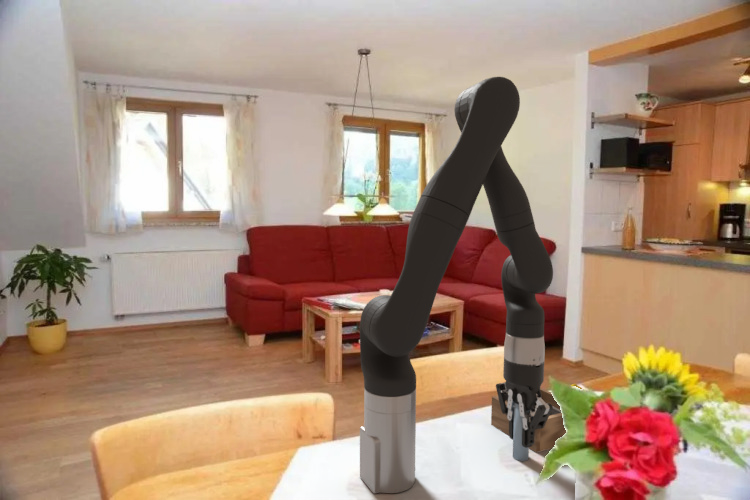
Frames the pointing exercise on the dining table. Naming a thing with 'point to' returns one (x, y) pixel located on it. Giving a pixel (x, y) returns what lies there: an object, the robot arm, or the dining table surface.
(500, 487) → the dining table surface
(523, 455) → the dowel
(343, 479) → the dining table surface
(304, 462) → the dining table surface
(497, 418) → the crate
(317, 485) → the dining table surface
